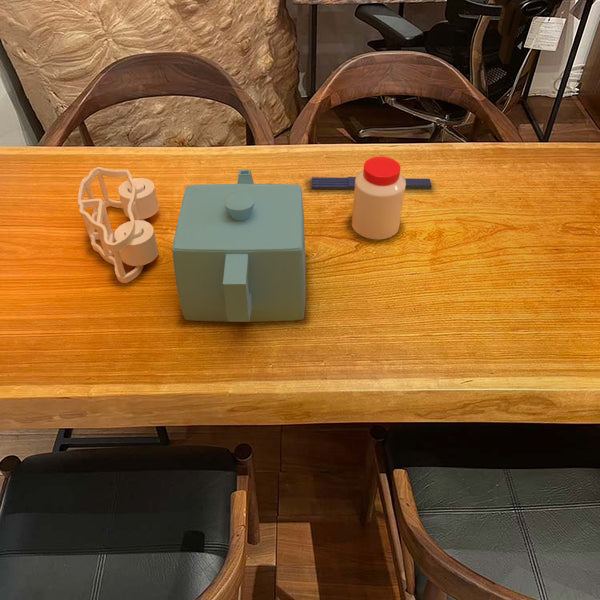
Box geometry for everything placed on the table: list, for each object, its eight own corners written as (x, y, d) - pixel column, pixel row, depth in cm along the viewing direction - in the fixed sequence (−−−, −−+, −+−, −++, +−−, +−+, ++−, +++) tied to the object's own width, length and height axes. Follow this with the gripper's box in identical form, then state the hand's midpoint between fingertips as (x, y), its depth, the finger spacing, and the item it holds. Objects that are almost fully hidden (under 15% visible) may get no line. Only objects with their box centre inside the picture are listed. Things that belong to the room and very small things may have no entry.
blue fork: (429, 180, 103) (429, 177, 103) (431, 190, 102) (431, 186, 101) (311, 180, 104) (311, 176, 103) (311, 189, 102) (311, 185, 101)
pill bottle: (342, 229, 94) (346, 171, 86) (365, 204, 99) (371, 147, 91) (386, 246, 91) (394, 187, 83) (407, 219, 96) (416, 161, 88)
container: (177, 347, 77) (156, 261, 66) (199, 227, 95) (185, 142, 83) (306, 347, 77) (307, 260, 66) (304, 227, 95) (305, 142, 84)
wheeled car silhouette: (160, 279, 86) (151, 241, 81) (83, 287, 85) (69, 249, 80) (160, 198, 100) (152, 161, 95) (94, 205, 99) (82, 167, 93)
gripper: (721, -148, 64) (640, 47, 79) (491, -148, 64) (455, 47, 79) (758, -134, 58) (663, 73, 74) (508, -134, 59) (465, 72, 74)
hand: (555, 60), depth 77 cm, fingers open, 13 cm apart
